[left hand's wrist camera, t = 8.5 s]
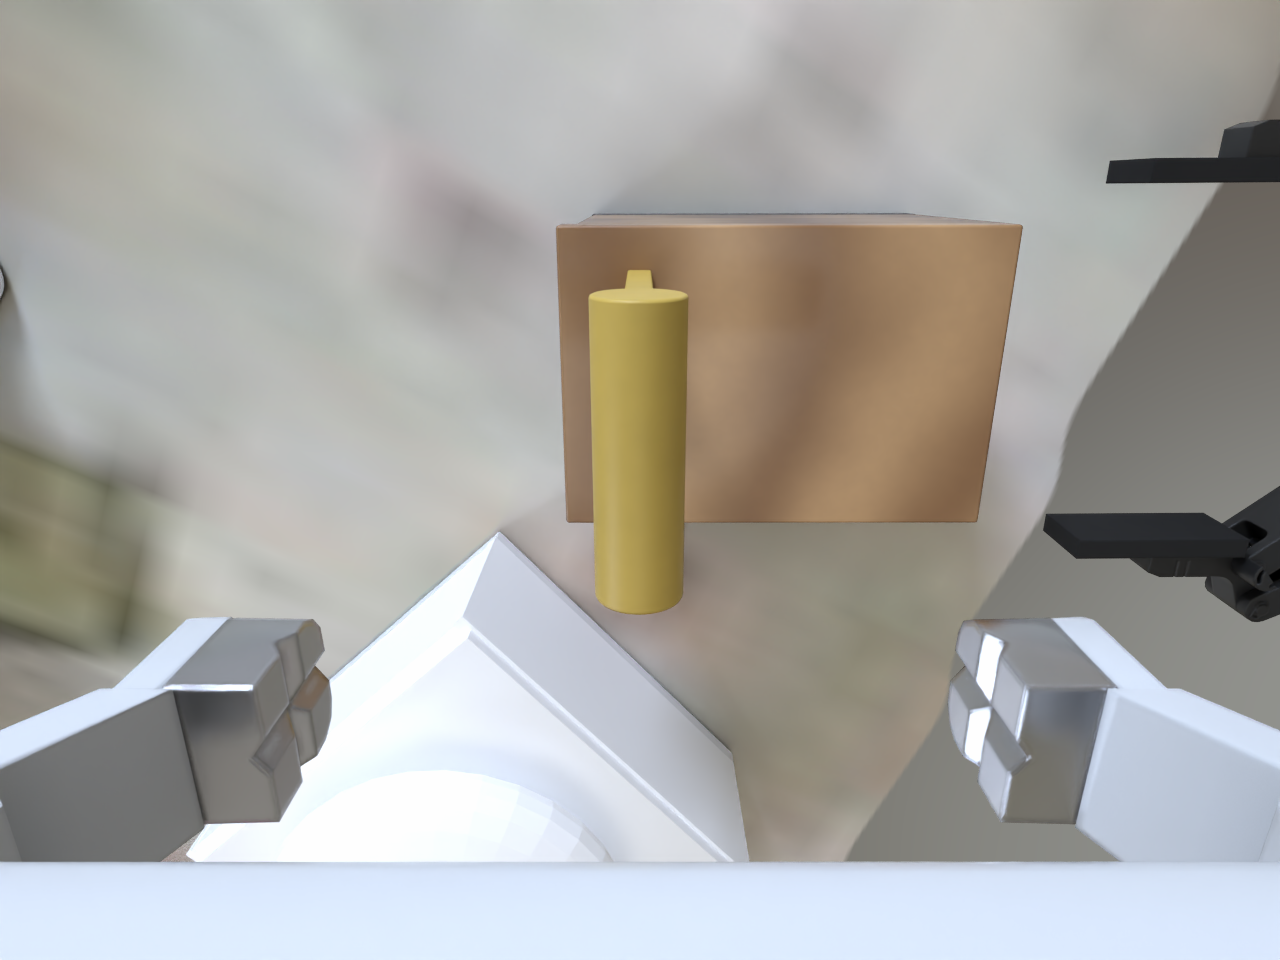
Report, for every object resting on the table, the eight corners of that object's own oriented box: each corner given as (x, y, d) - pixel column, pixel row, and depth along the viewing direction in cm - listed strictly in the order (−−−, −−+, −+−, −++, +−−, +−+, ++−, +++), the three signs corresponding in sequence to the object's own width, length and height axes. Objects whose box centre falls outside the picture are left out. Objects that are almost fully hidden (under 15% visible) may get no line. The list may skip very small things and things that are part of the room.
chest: (598, 429, 37) (583, 511, 27) (593, 214, 34) (575, 223, 24) (883, 429, 37) (965, 510, 27) (906, 213, 33) (1008, 222, 24)
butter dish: (498, 530, 38) (406, 749, 23) (738, 759, 43) (790, 1064, 28) (265, 734, 42) (61, 1031, 27) (507, 923, 47) (445, 1266, 32)
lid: (569, 511, 27) (536, 657, 19) (558, 224, 24) (514, 242, 16) (965, 511, 27) (1112, 657, 19) (1008, 222, 24) (1208, 241, 16)
